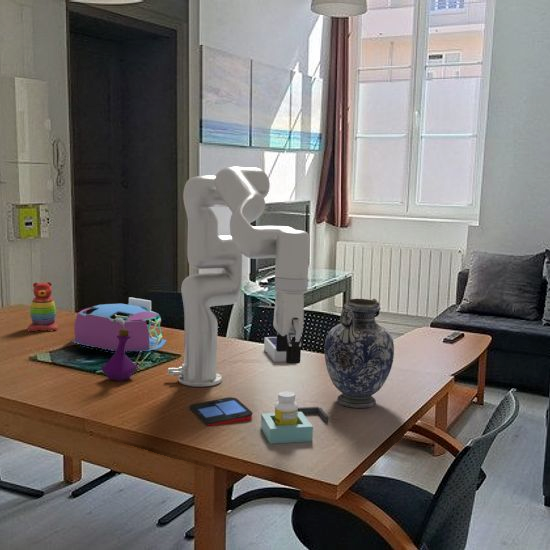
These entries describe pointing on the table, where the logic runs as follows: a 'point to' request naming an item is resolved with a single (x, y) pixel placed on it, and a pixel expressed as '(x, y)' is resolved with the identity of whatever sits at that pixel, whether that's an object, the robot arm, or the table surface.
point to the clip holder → (273, 350)
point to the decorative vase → (359, 354)
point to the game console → (221, 411)
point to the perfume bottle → (120, 358)
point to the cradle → (314, 410)
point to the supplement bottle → (286, 409)
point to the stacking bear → (42, 308)
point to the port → (286, 429)
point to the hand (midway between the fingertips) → (287, 357)
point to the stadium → (119, 326)
